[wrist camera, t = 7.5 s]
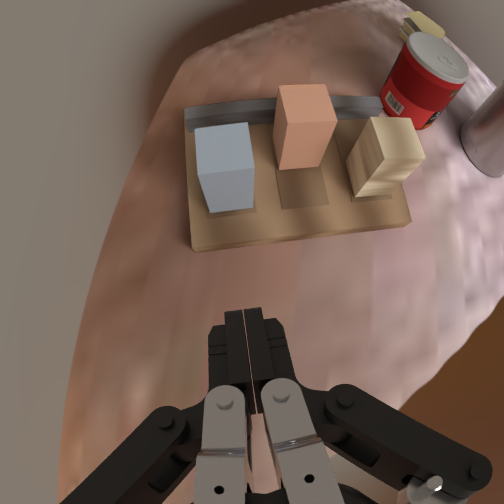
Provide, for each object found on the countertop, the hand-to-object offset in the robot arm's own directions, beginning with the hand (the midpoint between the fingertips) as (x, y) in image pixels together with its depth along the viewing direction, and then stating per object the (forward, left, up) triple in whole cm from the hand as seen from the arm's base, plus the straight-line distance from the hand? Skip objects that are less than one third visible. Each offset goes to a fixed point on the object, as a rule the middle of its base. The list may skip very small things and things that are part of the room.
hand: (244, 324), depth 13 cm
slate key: (0, -12, -15) cm, 19 cm away
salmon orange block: (-7, -16, -15) cm, 23 cm away
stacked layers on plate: (-33, -38, -18) cm, 53 cm away
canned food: (-24, -23, -17) cm, 38 cm away
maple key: (-14, -12, -15) cm, 24 cm away
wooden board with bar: (-7, -15, -17) cm, 24 cm away
